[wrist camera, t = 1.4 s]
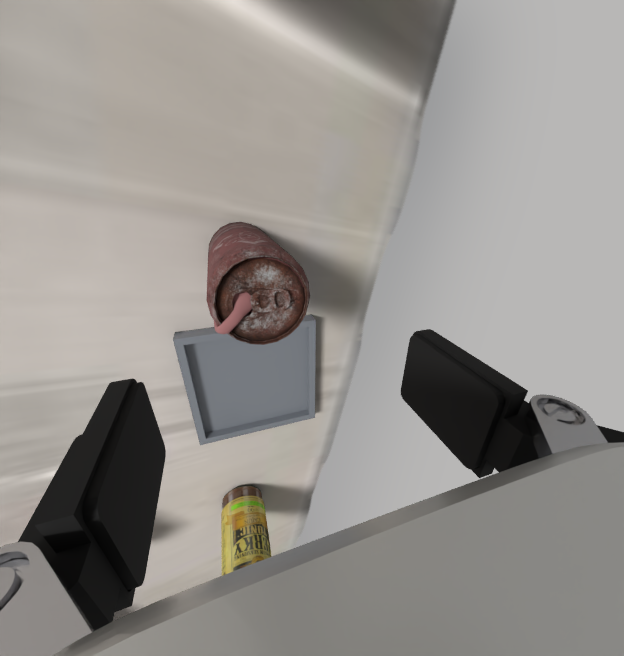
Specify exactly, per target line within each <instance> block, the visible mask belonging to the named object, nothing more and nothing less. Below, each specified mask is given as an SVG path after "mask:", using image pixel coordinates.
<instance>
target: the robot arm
mask: <svg viewBox="0 0 624 656" xmlns="http://www.w3.org/2000/svg"><path fill="white" fill-rule="evenodd" d="M527 392H528V391H527V390H526V389H524V388H523V387H521V386H519V385H518V384H516V383H515V382H513V381H512V380H510V379H509V378H507V377H505V376H504V375H502V374H500V373H499V372H498V371H496V370H494V369H493V368H491V367H489V366H488V365H486V364H485V363H483V362H482V361H480V360H479V359H477V358H475V357H474V356H472V355H471V354H469V353H467V352H466V351H464V350H463V349H461V348H460V347H458V346H456V345H455V344H453V343H452V342H450V341H449V340H447V339H445V338H443V337H442V336H440V335H439V334H437V333H436V332H434V331H433V330H430V329H429V330H422V331H416V332H415V333H414V334H413V336H412V337H411V338H410V342H409V347H408V353H407V358H406V364H405V370H404V376H403V381H402V387H401V395H402V397H403V399H404V401H405V402H406V403H407V404H408V405H409V406H410V407H411V408H412V409H413V410H414V411H415V413H417V415H418V416H419V417H420V418H421V419H422V420H423V421H424V422H425V423H426V424H427V426H428V427H429V428H430V429H431V430H432V431H433V432H434V433H435V434H436V435H437V436H438V437H439V439H440V440H441V441H442V442H443V443H444V444H445V445H446V446H447V447H448V448H449V449H450V451H451V452H452V453H453V454H454V455H455V456H456V457H457V458H458V459H459V460H460V461H461V462H462V464H463V465H464V466H465V467H467V468H468V469H471V470H472V471H473V472H474V473H475V474H476V475H477V476H478V477H479V478H481V477H484V476H486V475H489V474H492V472H493V470H494V468H495V469H496V470H497V471H498V472H499V473H497V474H494V475H491V476H489V477H486V478H483V479H480V480H478V481H475V482H472V483H469V484H466V485H464V486H461V487H458V488H455V489H452V490H450V491H447V492H445V493H442V494H439V495H436V496H434V497H431V498H428V499H425V500H423V501H420V502H417V503H415V504H412V505H409V506H406V507H404V508H401V509H398V510H396V511H393V512H390V513H387V514H385V515H382V516H379V517H377V518H374V519H371V520H368V521H366V522H363V523H361V524H358V525H355V526H353V527H350V528H347V529H345V530H342V531H339V532H337V533H334V534H331V535H329V536H326V537H323V538H321V539H318V540H315V541H312V542H310V543H307V544H305V545H302V546H299V547H296V548H294V549H291V550H288V551H286V552H283V553H280V554H278V555H275V556H272V557H270V558H267V559H264V560H262V561H259V562H256V563H254V564H251V565H248V566H246V567H243V568H241V569H238V570H236V571H233V572H230V573H228V574H225V575H223V576H220V577H218V578H215V579H213V580H210V581H208V582H205V583H203V584H200V585H198V586H195V587H193V588H190V589H188V590H185V591H182V592H180V593H177V594H175V595H172V596H170V597H167V598H165V599H162V600H160V601H158V602H155V603H153V604H151V605H149V606H146V607H144V608H142V609H140V610H137V611H135V612H133V613H131V614H128V615H126V616H124V617H122V618H119V619H117V620H115V621H113V616H114V612H116V611H119V610H122V609H124V608H127V607H130V606H132V602H133V597H134V592H135V588H136V587H139V586H141V585H142V584H143V581H144V578H145V573H146V567H147V561H148V555H149V549H150V544H151V538H152V532H153V526H154V520H155V515H156V509H157V503H158V497H159V491H160V486H161V480H162V474H163V468H164V462H165V445H164V442H163V439H162V436H161V433H160V430H159V427H158V424H157V421H156V418H155V415H154V412H153V409H152V406H151V403H150V401H149V398H148V395H147V392H146V389H145V386H144V384H143V383H142V382H139V383H137V382H136V380H135V379H128V380H122V381H116V382H111V383H110V384H109V385H108V387H107V389H106V391H105V393H104V395H103V397H102V399H101V400H100V402H99V404H98V406H97V408H96V410H95V412H94V414H93V416H92V418H91V419H90V421H89V423H88V425H87V427H86V429H85V431H84V433H83V435H80V436H78V437H76V439H75V440H74V441H73V443H72V445H71V446H70V448H69V450H68V452H67V454H66V456H65V457H64V459H63V461H62V463H61V465H60V466H59V468H58V470H57V472H56V474H55V476H54V477H53V479H52V481H51V483H50V485H49V486H48V488H47V490H46V492H45V494H44V496H43V497H42V499H41V501H40V503H39V505H38V506H37V508H36V510H35V512H34V514H33V516H32V517H31V519H30V521H29V523H28V525H27V526H26V528H25V530H24V532H23V534H22V536H21V537H20V539H19V541H18V542H17V543H12V544H7V545H4V546H2V547H0V656H624V432H620V431H616V430H613V429H609V428H605V427H601V426H597V425H596V424H595V423H594V421H593V419H592V418H591V417H590V416H589V415H588V414H587V412H586V411H584V410H583V409H581V408H580V407H579V406H577V405H575V404H573V403H571V402H569V401H567V400H564V399H562V398H559V397H555V396H551V395H536V396H533V397H532V398H531V400H530V402H529V403H527V402H526V401H524V399H525V396H526V394H527ZM112 621H113V622H112Z"/></svg>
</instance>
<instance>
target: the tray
mask: <svg viewBox="0 0 624 656" xmlns="http://www.w3.org/2000/svg"><path fill="white" fill-rule="evenodd" d="M173 341H174V345H175V349H176V353H177V357H178V361H179V364H180V368H181V372H182V376H183V380H184V384H185V388H186V392H187V396H188V399H189V403H190V407H191V411H192V415H193V419H194V423H195V427H196V431H197V434H198V438H199V442H200V445H203V444H207V443H211V442H215V441H219V440H223V439H228V438H232V437H236V436H240V435H244V434H248V433H253V432H257V431H261V430H265V429H269V428H273V427H278V426H282V425H286V424H290V423H294V422H298V421H302V420H307V419H311V418H315V351H316V320H315V318H314V317H313V316H312V314H311V315H305V317H304V318H303V320H302V322H301V323H300V325H299V327H297V328H296V329H295V330H294V331H293V332H292V333H291V334H290V335H289V336H287V337H285V338H283V339H282V340H280V341H278V342H274V343H270V344H265V345H255V344H248V343H245V342H242V341H239V340H236V339H235V338H233V337H231V336H230V335H228V334H220V333H217V332H216V331H215V327H212V328H204V329H197V330H189V331H181V332H175V334H174V338H173Z"/></svg>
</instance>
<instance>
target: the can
mask: <svg viewBox="0 0 624 656" xmlns="http://www.w3.org/2000/svg"><path fill="white" fill-rule="evenodd" d="M309 298H310V293H309V282H308V280H307V277H306V275H305V273H304V270H303V268H302V267H301V266H300V265H299V264H298V263H297V262H296V260H295V259H294V258H293V257H292V256H291V255H290V254H288V253H287V252H286V251H285V250H284V249H282V248H281V247H280V246H279V245H278V244H277V243H275V242H274V241H273V240H272V239H271V238H270V237H268V236H267V235H266V234H265V233H264V232H262V231H261V230H260V229H258V228H257V227H255V226H253V225H251V224H248V223H243V222H236V223H229V224H227V225H225V226H223V227H221V228H220V229H219V230H218V231H217V232H216V233H215V234H214V235H213V237H212V239H211V241H210V244H209V252H208V277H207V303H208V307H209V310H210V314H211V316H212V318H213V319H214V326H215V331H216V332H217V333H220V334H228V335H230V336H231V337H233V338H235V339H236V340H239V341H242V342H245V343H248V344H255V345H265V344H270V343H274V342H278V341H280V340H282V339H283V338H285V337H287V336H289V335H290V334H291V333H292V332H293V331H294V330H295V329H296V328H297V327H299V325H300V323H301V322H302V320H303V318H304V317H305V315H306V311H307V307H308V302H309Z"/></svg>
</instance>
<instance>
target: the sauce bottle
mask: <svg viewBox="0 0 624 656" xmlns="http://www.w3.org/2000/svg"><path fill="white" fill-rule="evenodd" d="M221 530H222V576H223V575H225V574H228V573H230V572H233V571H236V570H238V569H241V568H243V567H246V566H248V565H251V564H254V563H256V562H259V561H262V560H264V559H267V558H270V557H271V550H270V542H269V534H268V528H267V521H266V514H265V507H264V502H263V500H262V494H261V491H260V490H259V489H257V488H255V487H253V486H241V487H237V488H235V489H233V490H231V491H230V492H229V493H227V494H226V495H225V496H224V498H223V503H222V514H221Z"/></svg>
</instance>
